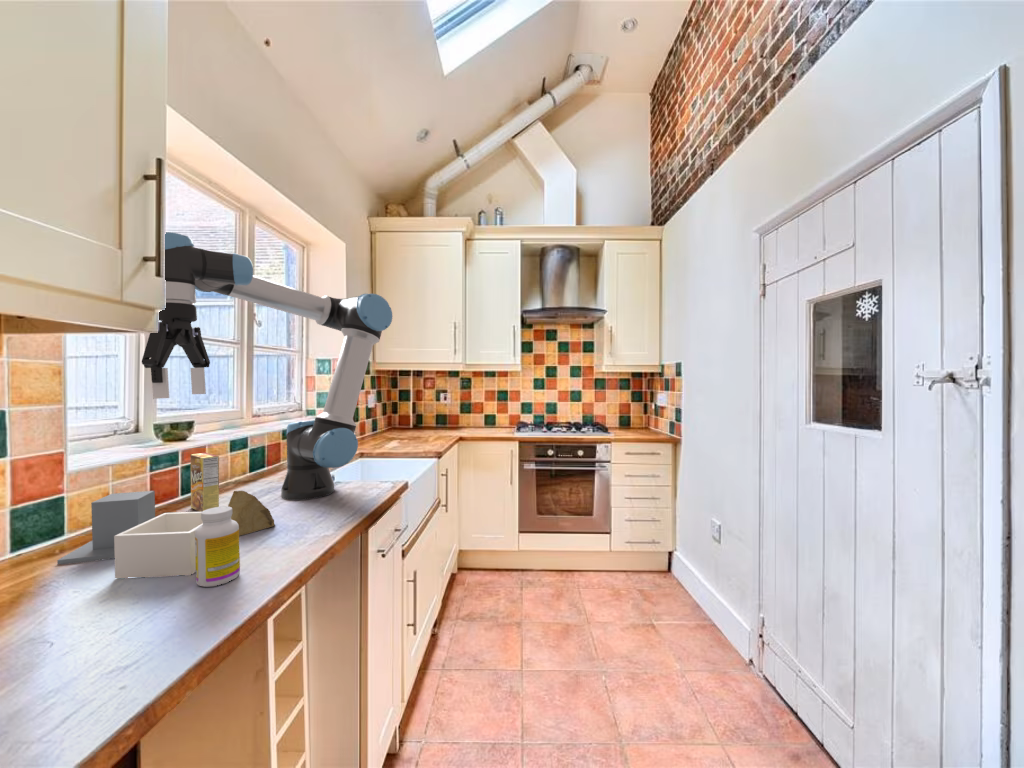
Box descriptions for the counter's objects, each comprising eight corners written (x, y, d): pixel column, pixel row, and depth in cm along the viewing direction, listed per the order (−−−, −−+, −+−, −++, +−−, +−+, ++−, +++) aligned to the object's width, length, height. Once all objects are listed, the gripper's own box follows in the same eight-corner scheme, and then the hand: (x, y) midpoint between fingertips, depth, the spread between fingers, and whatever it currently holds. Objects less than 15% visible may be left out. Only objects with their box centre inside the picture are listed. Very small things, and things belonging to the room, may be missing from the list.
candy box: (190, 508, 119) (188, 454, 119) (207, 504, 122) (206, 452, 122) (202, 514, 114) (201, 457, 114) (220, 510, 117) (219, 455, 117)
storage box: (165, 549, 91) (164, 512, 91) (229, 547, 92) (229, 510, 92) (115, 578, 78) (114, 536, 78) (190, 575, 79) (189, 532, 79)
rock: (282, 511, 109) (240, 508, 107) (278, 490, 104) (234, 487, 102) (266, 550, 100) (220, 548, 99) (261, 530, 95) (212, 526, 93)
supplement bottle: (248, 573, 80) (247, 506, 79) (214, 590, 73) (213, 517, 73) (221, 569, 82) (220, 503, 81) (186, 585, 75) (185, 514, 75)
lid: (105, 538, 98) (103, 490, 98) (181, 530, 103) (180, 485, 102) (57, 566, 84) (55, 510, 84) (148, 556, 88) (147, 503, 88)
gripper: (191, 310, 108) (196, 393, 109) (114, 294, 84) (121, 401, 85) (222, 310, 109) (227, 392, 110) (156, 294, 85) (162, 399, 86)
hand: (181, 396), depth 97 cm, fingers open, 13 cm apart
